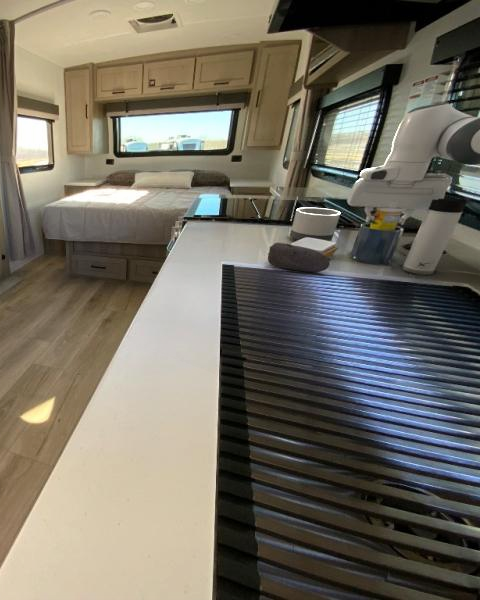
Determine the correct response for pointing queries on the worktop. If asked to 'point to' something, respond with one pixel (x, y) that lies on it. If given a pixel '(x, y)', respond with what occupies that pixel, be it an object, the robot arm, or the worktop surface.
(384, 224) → the supplement bottle
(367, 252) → the blue cylindrical cup
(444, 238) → the travel mug
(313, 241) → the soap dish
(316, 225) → the planter
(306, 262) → the perforated stone tool
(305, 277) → the worktop surface
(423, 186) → the robot arm
